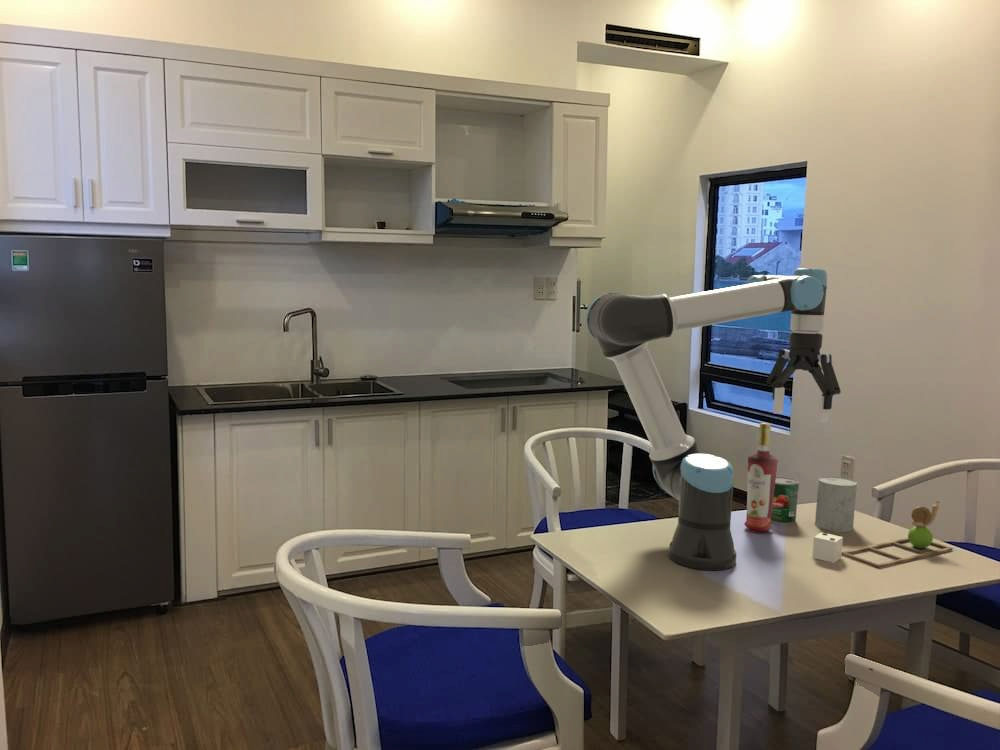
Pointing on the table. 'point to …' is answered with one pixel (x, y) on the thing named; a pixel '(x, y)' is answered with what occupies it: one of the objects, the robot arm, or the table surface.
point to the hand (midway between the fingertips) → (799, 417)
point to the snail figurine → (922, 526)
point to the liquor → (761, 484)
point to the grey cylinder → (835, 504)
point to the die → (827, 547)
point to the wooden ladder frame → (898, 559)
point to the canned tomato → (784, 501)
